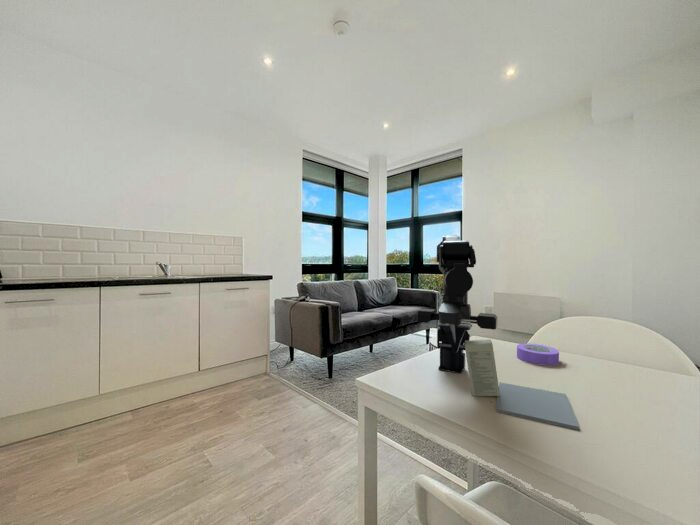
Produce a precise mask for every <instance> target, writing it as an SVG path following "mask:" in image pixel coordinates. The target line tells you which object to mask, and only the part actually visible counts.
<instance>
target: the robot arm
mask: <svg viewBox="0 0 700 525" xmlns="http://www.w3.org/2000/svg"><path fill="white" fill-rule="evenodd" d="M460 239H461V237H460V235H456V234H455V235H451V234H450V235H443V236H442V241H440V243H438V245H437V246H436V263H438V269H439V271H440V272H441V274H442V275H443V295H442V302H441V304H440V306H439V308H438V312H437V310H436V309H433V308H421V309H419V310H418V311H417V312H416V314H415V321H416V322H418V323H427V324H428V323H429V322H430V321H431V320H433V321H438V322H439V324H438V327H437V328H436V347H437V349H439V366H437V367H438V370H441V371H447V372H451V373H457V374H462V372H463V371H464V370H465V368H466V350H465V341H470V339H471V335H470V333H469V331H470V330H471V329H472V327H473V325H474V324H476V325H477V326H478V327H479V328H480V329H485V330H496V329H497V328H498V316H497V314H495V313H485V312H479V313H478V315H472V309H471V304H468V303H469V301H468V293H469V291H470V290H471V289H472V287H473V285H474V279H473V276H472V274H471V273H470V271H468V268H475V265H476V263H477V259H476V253H475V249H474V248H473V245H472V244H470V241H469V240H460ZM464 351H465V352H464Z"/></svg>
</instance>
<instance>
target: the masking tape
mask: <svg viewBox="0 0 700 525" xmlns="http://www.w3.org/2000/svg"><path fill="white" fill-rule="evenodd" d="M516 358H517V359H519V360H521V361H523V362H525V363H529V364H532V365H533V364H534V365H539V366H542V365H543V366H556V365H558V364H560V351H559V350H558V349H556V348H554V347H551V346H548V345H543V344H537V343H519V344H517V345H516Z"/></svg>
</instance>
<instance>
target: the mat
mask: <svg viewBox="0 0 700 525" xmlns="http://www.w3.org/2000/svg"><path fill="white" fill-rule="evenodd" d="M498 385H499V392H500V396H497V399H496V408H495V411H496V412H497V413H501V414H506V415H511V416H515V417H519V418H524V419H528V420H532V421H537V422H541V423H546V424H551V425H555V426H559V427H564V428H568V429H573V430H577V431H580V426H579V423H578V421H577V419H576V416H575V414H574V411H573V409H572V406H571V403H570V401H569V399H568V396H567V394H566V393H562V392H557V391H552V390H551V391H550V390H545V389H540V388H539V389H538V388H534V387H530V386H522V385H519V384H518V385H517V384H511V383H507V382H500V381H498Z"/></svg>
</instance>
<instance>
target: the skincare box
mask: <svg viewBox="0 0 700 525" xmlns="http://www.w3.org/2000/svg"><path fill="white" fill-rule="evenodd" d="M465 350H466V351H465ZM465 350H464V351H465V358H466V363H467V371H468V377H469V384H470V392H471V396H478V397H483V396H484V397H486V396H487V397H489V396H490V397H494V396H495V397H498V396H500V392H499V380H498V379H499V378H498V372H497V366H496V359H495V352H494V346H493V342H492V340H491V339H475V340H474V339H473V340H472V339H471V340H469V341H465Z"/></svg>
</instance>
